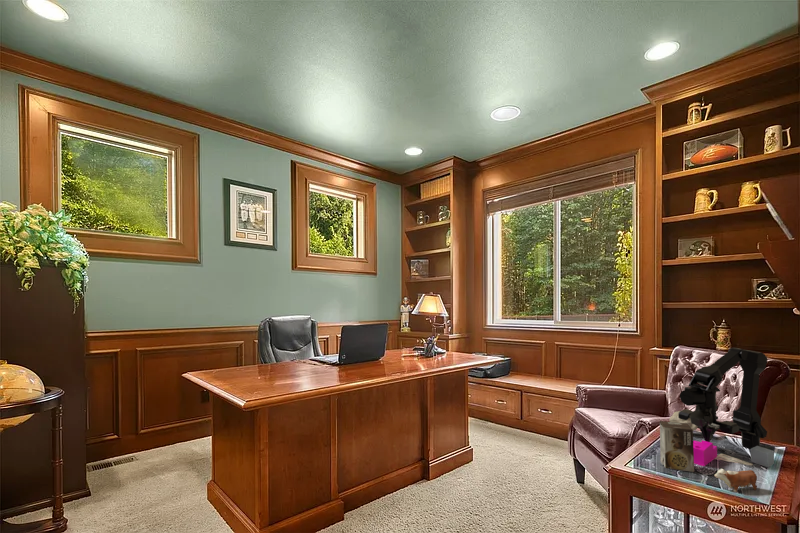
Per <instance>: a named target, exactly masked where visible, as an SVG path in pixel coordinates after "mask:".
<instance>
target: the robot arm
mask: <svg viewBox="0 0 800 533" xmlns="http://www.w3.org/2000/svg"><path fill="white" fill-rule="evenodd" d="M767 363H768V357H767V356H766V355H765V353H763V352H760V351H755V350H748V349H743V348H738V347H730V348H729V349H728V351H727V352H726V353H725V354H723V355H722V356H721V357H720V358H718V359H717V360H715V362H713V363H712V364H711V365H707V366H703V367H700V368H699V369H697V370H696V371H695V372H694V374H693V376H692V378H691V379H690V381H689V383H688V386H685V387H684V390H682V391H681V392H680V394H679V400H680V401H681V403H682V404H684V405H685V406H688V407H691V406H695V410H691V409H688V410H687V408H686V409H683V411H682V410H679V411H680V412H679V411H678V412H679V413H678V418H680V419H683V420H687V419H689V418H690V420H691V423H692V424H694V425H696V426H697V428H698V429H699V430H700V432H701V434H702V437H703V438H704V439H703V440H704V441H707V442H712V438H713V437H714V435H715V434H716V432H717V430H720V431H721V432H723V433H727V434H730V435H732V434H735V433H738V432H741V447H742V448H744V449H749V450H751V448H753V447H756V446H760V447H761V439H765V438H767V435H768V430H766V429H765V427H764V426H763V425H762V420H761V417H760V414H759V413H758V411H757V407H758V406H757V405H758V396H759V394H758V393H759V385H760V375H761V374H762V373H763V372H764V371H765V370H766V367H767ZM737 364H739V366H740V368H741V369H742V372H743V377H742V386H741V394H740V395H741V396H740V405H739V407H738V408H737V409H734V410H733V411H732V414H733V415H732V419H731V420H732V421H730V420H723V421H719V415H717V410H718V409H719V406H718V405H717V392H719V393H720V392H721V389H719V388H718V386H719V385H720V383H721V382H722V381H723V376H724V375H725V374H726V373H727V372H729V371H730V370H731V369H732V368H734V366H735V367H736V365H737Z"/></svg>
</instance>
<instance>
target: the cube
mask: <svg viewBox="0 0 800 533" xmlns="http://www.w3.org/2000/svg"><path fill="white" fill-rule="evenodd" d="M750 463H752V464H753V463H754V464H756V465H759V466H763V467H766V468H770V467H771V466H774V465H775V451H774V450H773V449H770V448H766V447H762V446H761V445H760V446H756V447H753V448H751V449H750ZM773 464H774V465H773Z"/></svg>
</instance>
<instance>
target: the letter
mask: <svg viewBox="0 0 800 533" xmlns="http://www.w3.org/2000/svg"><path fill="white" fill-rule="evenodd" d="M714 460H717V461H719V460H720V461H724V462H730V463H734V464H739V465H745V466H754V464H753V463H752V462H748V461H746V460H743V459H742V460H741V459H739V458H737V457H733V456H730V455H727V454H724V453H720V454H717V457H716V458H715V459H714Z"/></svg>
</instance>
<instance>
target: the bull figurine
mask: <svg viewBox="0 0 800 533" xmlns="http://www.w3.org/2000/svg"><path fill="white" fill-rule="evenodd" d="M714 477H715V479H716V478H717V479H720V480H721V481H723V483H725V484H726V485H727V486H728V488H729V489H733V492H735V493H737V492H738V490H739V487H740V488H746V487H747V488H749V487H752V488H753V489H752V490H753V491H757V488H758V485H757V480H758V477H757V474H756V473H755V471H754V470H751V469H750V470H740V471H733V470H725V469H723V468H720V469H718V470H717V472H716V473H715V474H714Z"/></svg>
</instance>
